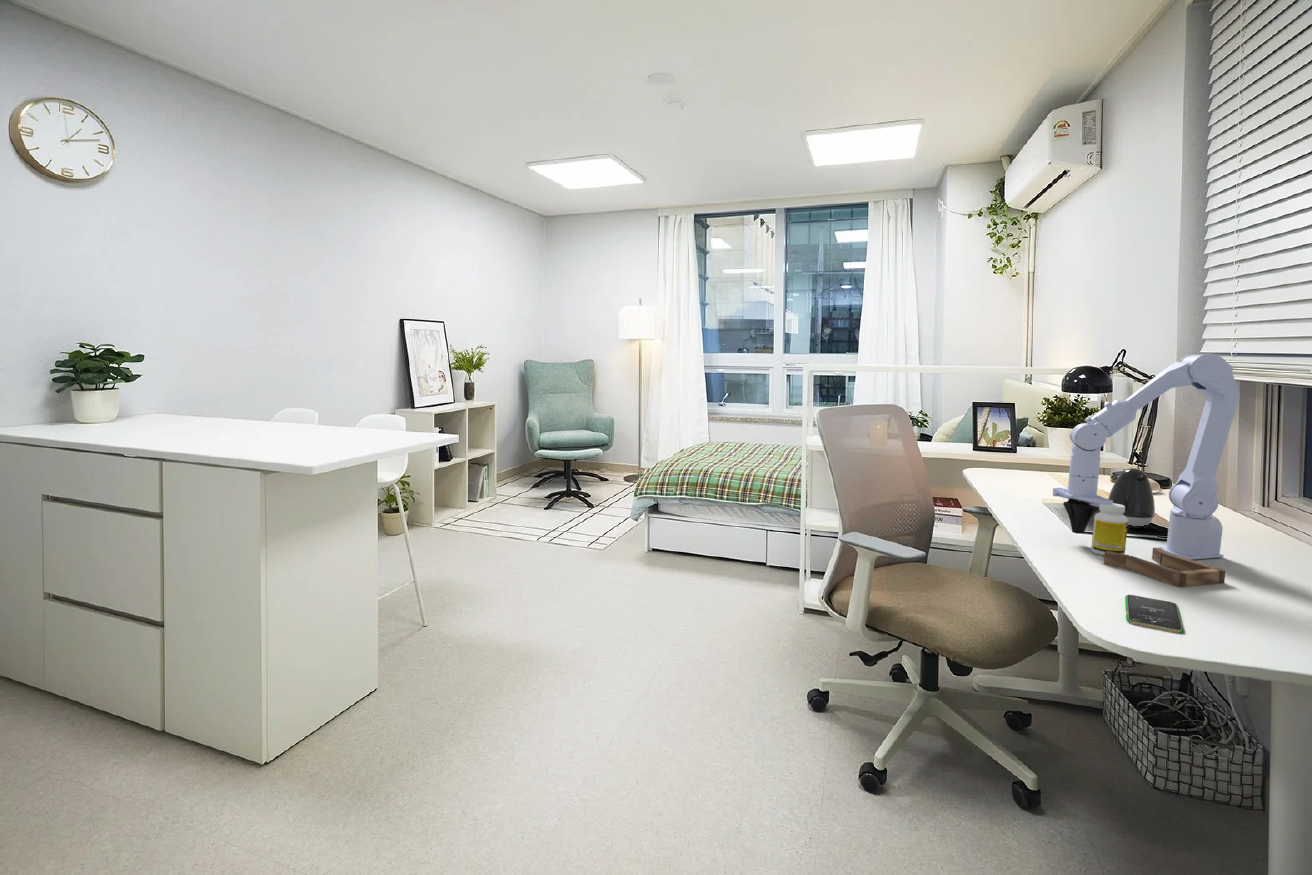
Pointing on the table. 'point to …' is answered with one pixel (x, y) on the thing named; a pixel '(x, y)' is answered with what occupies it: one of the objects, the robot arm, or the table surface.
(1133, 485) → the dark grey egg-shaped device
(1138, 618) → the smartphone
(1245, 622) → the table surface
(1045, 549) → the table surface
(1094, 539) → the pill bottle
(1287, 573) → the table surface
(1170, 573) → the wooden u-shaped bracket
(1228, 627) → the table surface
